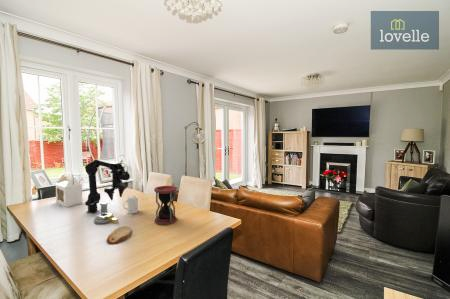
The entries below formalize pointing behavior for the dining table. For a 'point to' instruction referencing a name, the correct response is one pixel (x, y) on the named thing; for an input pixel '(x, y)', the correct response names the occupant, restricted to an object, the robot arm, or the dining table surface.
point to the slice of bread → (119, 235)
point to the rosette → (105, 218)
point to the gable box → (68, 190)
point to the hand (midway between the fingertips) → (116, 198)
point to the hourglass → (165, 205)
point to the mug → (132, 204)
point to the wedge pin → (103, 207)
